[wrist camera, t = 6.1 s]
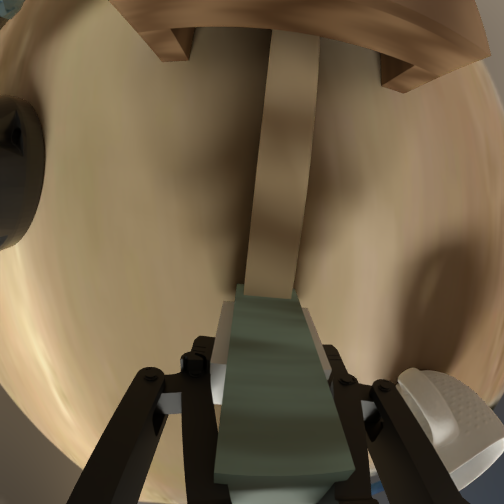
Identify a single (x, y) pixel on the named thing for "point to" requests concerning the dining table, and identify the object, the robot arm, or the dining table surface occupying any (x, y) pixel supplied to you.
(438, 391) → the mug
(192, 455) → the robot arm
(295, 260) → the sweep tool
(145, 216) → the dining table surface
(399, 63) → the wooden bench
